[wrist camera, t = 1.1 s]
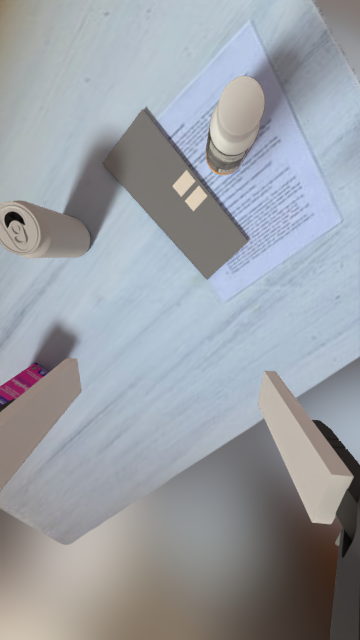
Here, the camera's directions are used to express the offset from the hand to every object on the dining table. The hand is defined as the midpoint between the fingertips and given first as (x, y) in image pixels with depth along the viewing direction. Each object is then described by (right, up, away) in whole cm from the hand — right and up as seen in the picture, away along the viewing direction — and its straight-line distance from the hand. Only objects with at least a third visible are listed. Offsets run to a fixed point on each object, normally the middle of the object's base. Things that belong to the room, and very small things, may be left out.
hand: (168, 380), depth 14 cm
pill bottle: (+7, +29, +15) cm, 34 cm away
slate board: (+1, +23, +17) cm, 29 cm away
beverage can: (-18, +19, +20) cm, 32 cm away
